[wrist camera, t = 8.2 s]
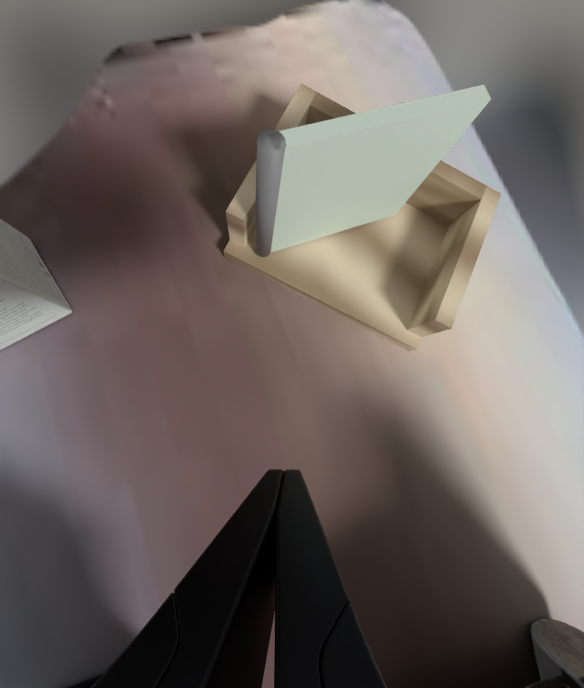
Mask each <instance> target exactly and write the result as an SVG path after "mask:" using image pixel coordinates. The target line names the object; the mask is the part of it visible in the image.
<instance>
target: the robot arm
mask: <svg viewBox="0 0 584 688" xmlns="http://www.w3.org/2000/svg"><path fill="white" fill-rule="evenodd" d="M274 612H275V670H274V688H387V686H386V684H385V682H384V680H383V678H382V676H381V673H380V671H379V669H378V667H377V665H376V663H375V661H374V658H373V656H372V653H371V651H370V648H369V646H368V644H367V641H366V639H365V636H364V634H363V632H362V629H361V627H360V624H359V622H358V619H357V616H356V614H355V611H354V609H353V606H352V604H351V603H350V599H349V596H348V594H347V591H346V588H345V586H344V583H343V580H342V578H341V575H340V573H339V570H338V567H337V565H336V562H335V560H334V557H333V554H332V552H331V549H330V547H329V544H328V541H327V539H326V536H325V533H324V531H323V528H322V526H321V523H320V520H319V518H318V515H317V513H316V510H315V507H314V505H313V502H312V500H311V497H310V494H309V492H308V489H307V486H306V484H305V481H304V479H303V476H302V473H301V471H300V470H285V472H284V471H283V470H281V469H270V470H268V471H267V472H266V473H265V475H264V476H263V477H262V479H261V480H260V481H259V482H258V484H257V485H256V486H255V487H254V489H253V490H252V491H251V493H250V494H249V495H248V496H247V498H246V499H245V500H244V501H243V503H242V504H241V505H240V507H239V508H238V509H237V510H236V512H235V513H234V514H233V515H232V517H231V518H230V519H229V521H228V522H227V523H226V524H225V526H224V527H223V528H222V529H221V531H220V532H219V533H218V535H217V536H216V537H215V538H214V540H213V541H212V542H211V543H210V545H209V546H208V547H207V549H206V550H205V551H204V552H203V554H202V555H201V556H200V557H199V559H198V560H197V561H196V563H195V564H194V565H193V566H192V568H191V569H190V570H189V571H188V573H187V574H186V575H185V577H184V578H183V579H182V580H181V582H180V583H179V584H178V585H177V587H176V588H175V590H174V593H171V594H170V595H169V597H168V598H167V599H166V600H165V602H164V603H163V604H162V606H161V607H160V608H159V609H158V611H157V612H156V613H155V614H154V616H153V617H152V618H151V619H150V620H149V622H148V623H147V624H146V625H145V627H144V628H143V629H142V630H141V631H140V633H139V634H138V635H137V636H136V637H135V639H134V640H133V641H132V642H131V643H130V645H129V646H128V647H127V648H126V649H125V650H124V651H123V653H122V654H121V655H120V656H119V657H118V658H117V659H116V660H115V662H114V663H113V664H112V665H111V666H110V667H109V668H108V669H107V671H106V672H105V673H104V674H103V675H101V676H99V677H96V678H94V679H91V680H89V681H86V682H83V683H81V684H78V685H76V686H73V687H71V688H261V687H262V681H263V676H264V670H265V664H266V658H267V652H268V647H269V641H270V635H271V629H272V623H273V618H274Z"/></svg>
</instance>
